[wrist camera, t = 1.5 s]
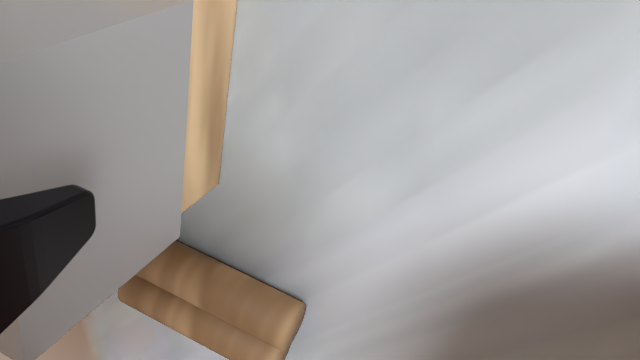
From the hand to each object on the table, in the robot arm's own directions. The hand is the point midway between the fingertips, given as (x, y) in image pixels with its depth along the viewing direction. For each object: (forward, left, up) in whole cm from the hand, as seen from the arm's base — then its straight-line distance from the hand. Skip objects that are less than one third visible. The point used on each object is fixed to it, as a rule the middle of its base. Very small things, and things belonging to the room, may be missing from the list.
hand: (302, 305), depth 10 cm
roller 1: (-4, +15, -12) cm, 20 cm away
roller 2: (-5, +17, -12) cm, 22 cm away
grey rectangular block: (+5, +9, -7) cm, 13 cm away
